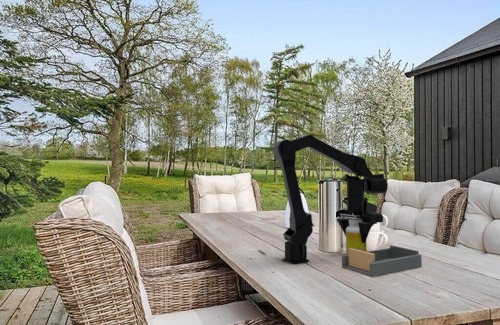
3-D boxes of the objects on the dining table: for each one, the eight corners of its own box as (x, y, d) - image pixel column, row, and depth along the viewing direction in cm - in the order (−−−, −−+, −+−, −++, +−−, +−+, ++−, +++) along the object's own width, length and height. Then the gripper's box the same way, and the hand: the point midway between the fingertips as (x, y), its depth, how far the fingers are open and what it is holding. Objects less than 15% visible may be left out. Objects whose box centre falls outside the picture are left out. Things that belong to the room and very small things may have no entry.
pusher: (372, 272, 110) (371, 254, 110) (348, 265, 118) (348, 248, 118) (375, 271, 111) (374, 254, 111) (351, 264, 119) (351, 248, 119)
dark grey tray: (372, 277, 108) (372, 260, 108) (341, 267, 118) (341, 252, 118) (421, 266, 118) (421, 251, 119) (389, 258, 129) (389, 244, 129)
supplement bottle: (367, 260, 127) (367, 220, 127) (346, 259, 128) (346, 220, 128) (365, 255, 134) (365, 218, 134) (345, 255, 135) (345, 217, 135)
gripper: (394, 195, 127) (395, 243, 127) (352, 192, 143) (353, 234, 143) (370, 196, 122) (370, 247, 121) (329, 193, 138) (330, 237, 138)
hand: (356, 241), depth 131 cm, fingers closed on supplement bottle, 7 cm apart
